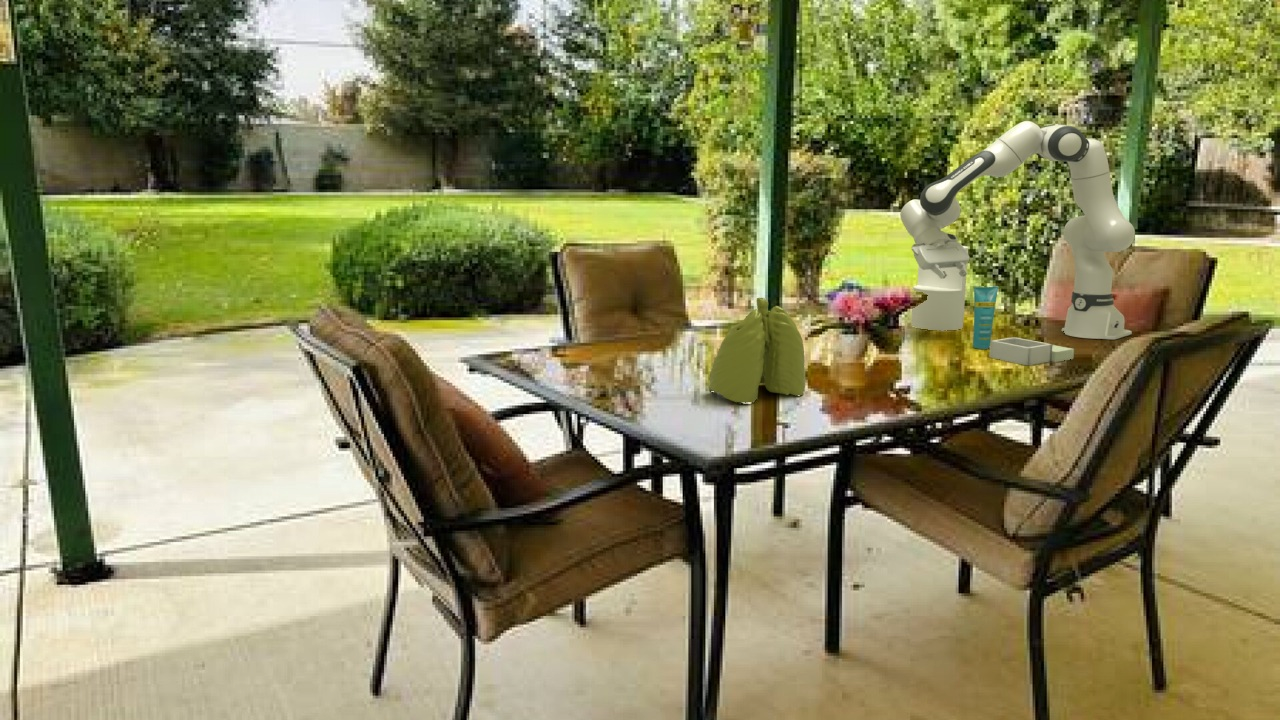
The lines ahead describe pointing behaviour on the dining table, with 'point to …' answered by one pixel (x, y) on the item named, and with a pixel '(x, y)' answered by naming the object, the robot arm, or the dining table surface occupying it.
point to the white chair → (940, 300)
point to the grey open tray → (1028, 351)
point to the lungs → (760, 356)
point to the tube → (983, 315)
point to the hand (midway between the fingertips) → (954, 276)
